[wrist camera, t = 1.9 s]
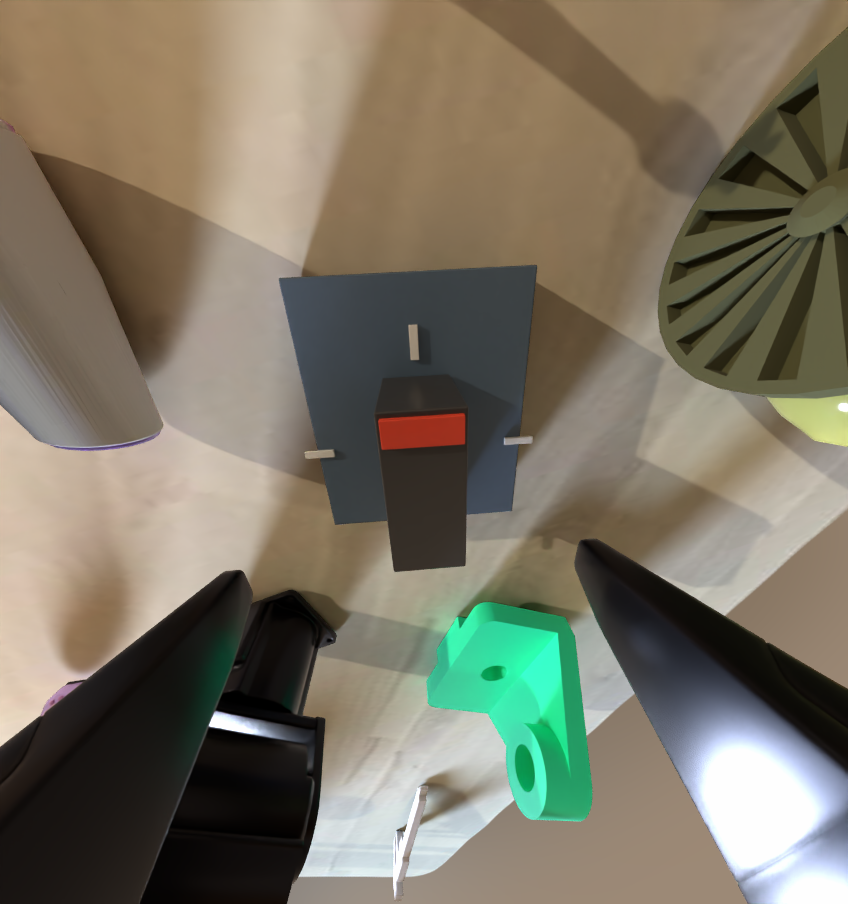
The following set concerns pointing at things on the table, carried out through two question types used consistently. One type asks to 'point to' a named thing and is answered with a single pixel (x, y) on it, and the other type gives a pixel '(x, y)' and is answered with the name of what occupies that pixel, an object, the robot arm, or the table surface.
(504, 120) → the table surface
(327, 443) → the base
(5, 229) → the infrared thermometer
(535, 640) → the camera mount
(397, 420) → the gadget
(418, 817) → the caliper
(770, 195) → the cannon
